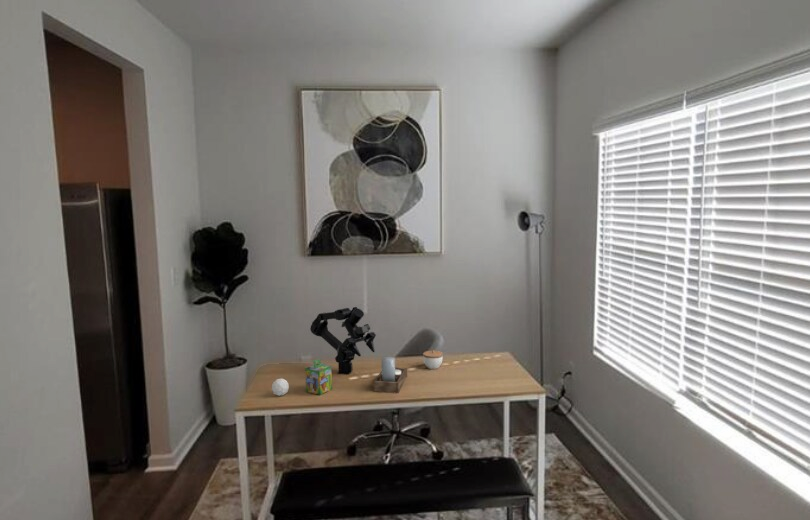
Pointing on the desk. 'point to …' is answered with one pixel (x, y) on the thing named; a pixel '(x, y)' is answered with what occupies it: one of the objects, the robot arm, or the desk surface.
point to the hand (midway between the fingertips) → (367, 353)
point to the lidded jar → (432, 359)
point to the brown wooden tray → (391, 386)
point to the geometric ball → (280, 387)
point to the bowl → (397, 371)
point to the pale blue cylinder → (388, 369)
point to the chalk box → (318, 378)
